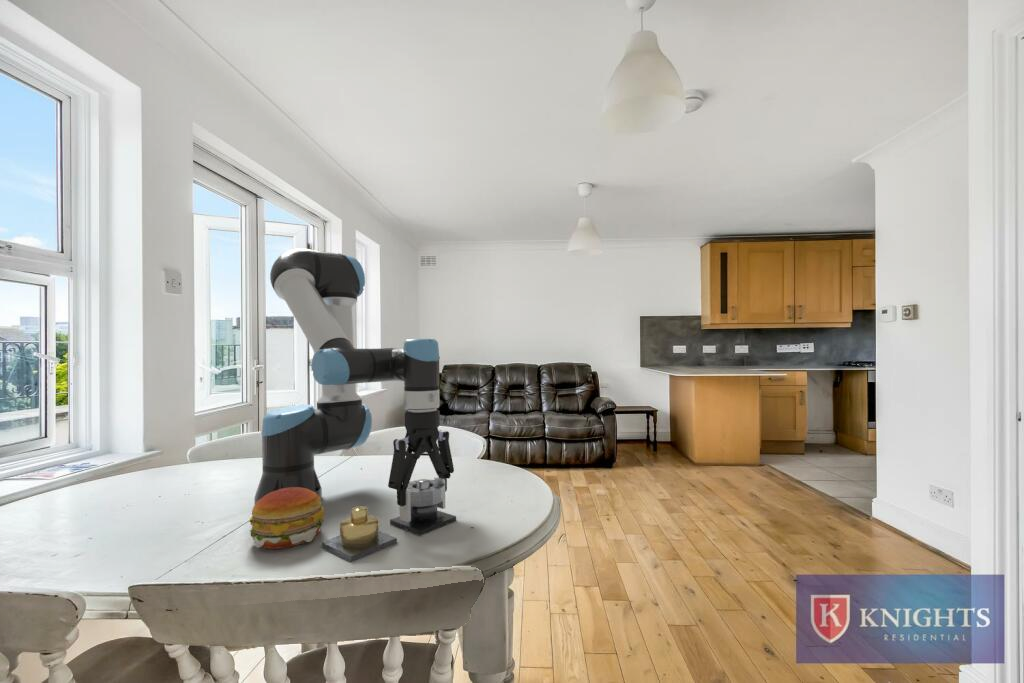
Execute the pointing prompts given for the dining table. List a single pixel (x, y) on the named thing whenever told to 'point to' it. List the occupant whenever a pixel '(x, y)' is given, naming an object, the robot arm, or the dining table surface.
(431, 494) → the grey faceted ring
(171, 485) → the dining table surface
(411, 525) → the stand
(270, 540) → the burger
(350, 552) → the hub
